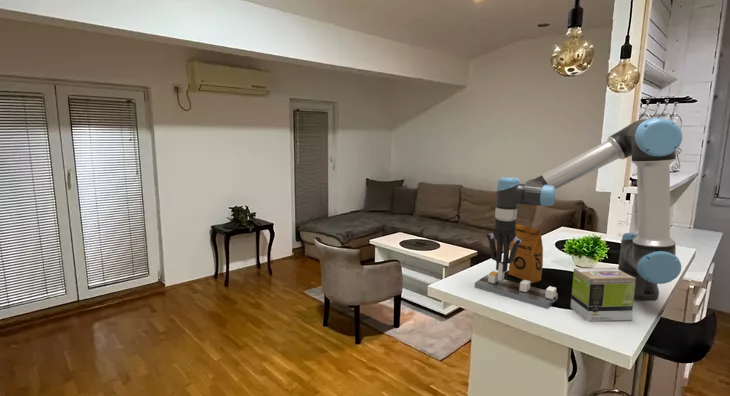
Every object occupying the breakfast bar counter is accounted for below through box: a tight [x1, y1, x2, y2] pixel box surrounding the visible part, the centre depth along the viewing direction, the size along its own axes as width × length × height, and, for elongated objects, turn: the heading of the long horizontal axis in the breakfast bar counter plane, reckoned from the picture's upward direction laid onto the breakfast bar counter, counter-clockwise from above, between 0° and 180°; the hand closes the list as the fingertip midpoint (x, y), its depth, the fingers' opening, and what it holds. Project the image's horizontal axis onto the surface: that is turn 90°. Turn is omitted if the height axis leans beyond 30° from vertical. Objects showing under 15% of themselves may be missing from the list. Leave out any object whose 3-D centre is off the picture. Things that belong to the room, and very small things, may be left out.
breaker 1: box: [488, 270, 498, 283], centre depth 150 cm, size 2×4×3 cm, turn 139°
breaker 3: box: [545, 285, 557, 299], centre depth 137 cm, size 2×4×3 cm, turn 139°
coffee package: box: [508, 223, 544, 284], centre depth 159 cm, size 10×12×22 cm
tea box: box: [570, 267, 636, 322], centre depth 128 cm, size 15×10×15 cm, turn 92°
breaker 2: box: [519, 280, 531, 292], centre depth 143 cm, size 2×4×3 cm, turn 139°
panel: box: [474, 274, 559, 310], centre depth 145 cm, size 28×11×2 cm, turn 49°
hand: (500, 278), depth 148 cm, fingers closed
